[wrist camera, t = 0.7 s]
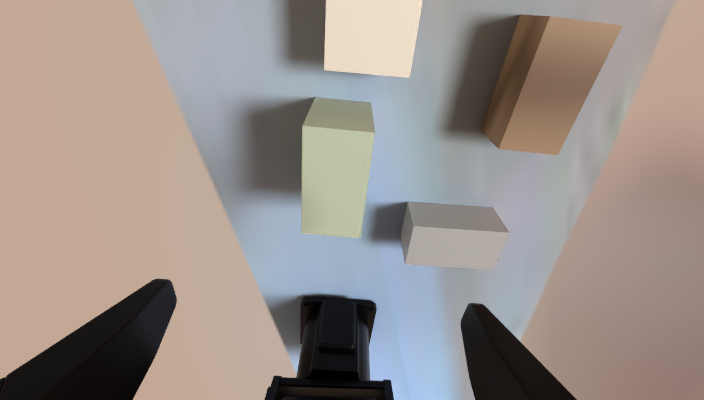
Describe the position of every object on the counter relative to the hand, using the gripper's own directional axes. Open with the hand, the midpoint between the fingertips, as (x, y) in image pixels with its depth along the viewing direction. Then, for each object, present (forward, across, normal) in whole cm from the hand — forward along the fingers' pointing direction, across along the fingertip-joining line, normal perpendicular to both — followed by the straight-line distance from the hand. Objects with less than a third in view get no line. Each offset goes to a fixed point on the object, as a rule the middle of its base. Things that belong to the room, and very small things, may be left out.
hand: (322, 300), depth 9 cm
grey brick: (+12, -8, +5) cm, 15 cm away
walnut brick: (+12, -10, -5) cm, 16 cm away
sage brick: (+12, 0, 0) cm, 12 cm away
